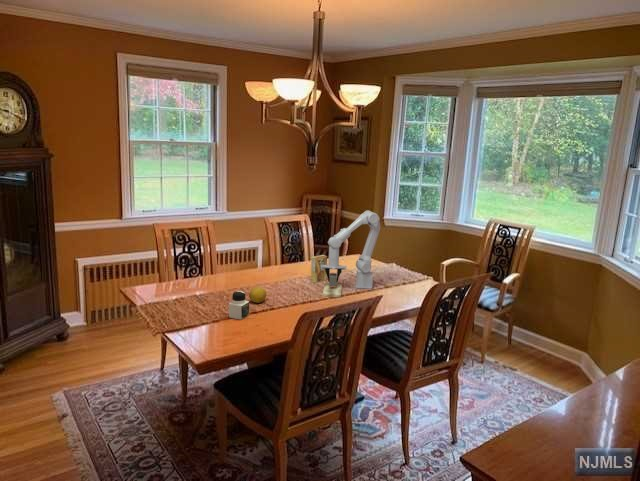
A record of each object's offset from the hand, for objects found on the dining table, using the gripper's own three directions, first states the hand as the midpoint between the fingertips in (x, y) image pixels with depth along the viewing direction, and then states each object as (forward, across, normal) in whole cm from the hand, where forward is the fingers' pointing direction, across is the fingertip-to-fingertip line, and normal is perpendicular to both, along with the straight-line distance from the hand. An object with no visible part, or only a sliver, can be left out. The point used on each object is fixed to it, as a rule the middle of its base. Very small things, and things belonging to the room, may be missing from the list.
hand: (333, 281), depth 276 cm
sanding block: (+2, 0, 0) cm, 2 cm away
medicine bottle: (+5, -43, -49) cm, 65 cm away
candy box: (+4, -9, +13) cm, 16 cm away
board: (+4, 0, -5) cm, 6 cm away
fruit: (+5, -38, -28) cm, 47 cm away
